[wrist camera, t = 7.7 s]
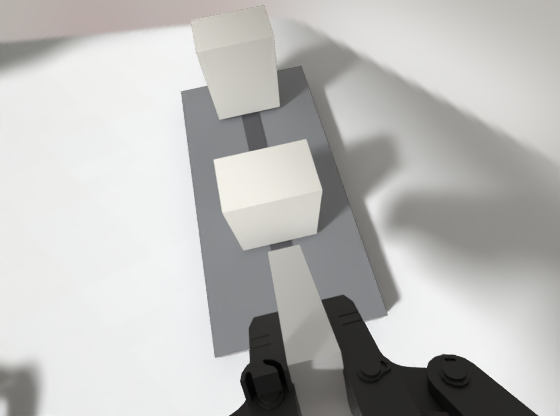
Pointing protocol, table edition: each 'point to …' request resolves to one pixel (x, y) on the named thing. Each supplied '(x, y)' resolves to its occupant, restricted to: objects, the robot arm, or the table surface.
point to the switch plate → (255, 262)
